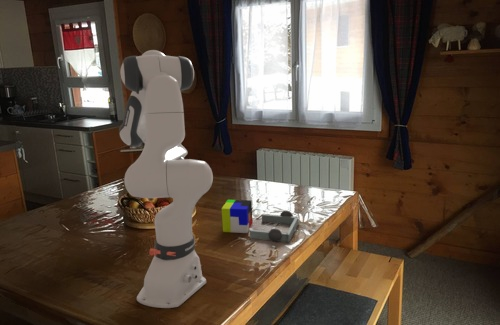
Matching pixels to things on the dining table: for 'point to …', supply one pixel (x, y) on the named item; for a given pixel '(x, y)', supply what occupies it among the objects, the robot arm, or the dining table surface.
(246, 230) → the puzzle toy
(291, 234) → the tray
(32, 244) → the dining table surface
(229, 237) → the dining table surface
